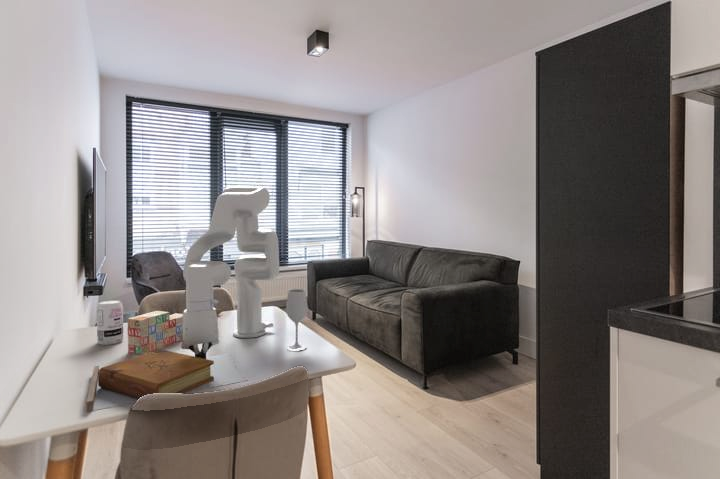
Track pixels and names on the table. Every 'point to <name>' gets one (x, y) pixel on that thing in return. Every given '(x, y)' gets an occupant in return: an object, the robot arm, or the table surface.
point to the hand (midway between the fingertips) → (200, 365)
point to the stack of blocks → (153, 331)
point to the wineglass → (296, 309)
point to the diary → (155, 374)
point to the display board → (220, 370)
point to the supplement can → (109, 322)
